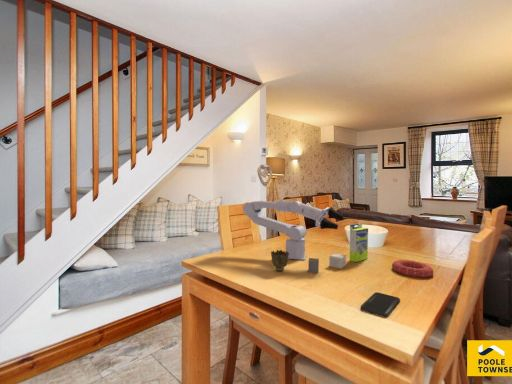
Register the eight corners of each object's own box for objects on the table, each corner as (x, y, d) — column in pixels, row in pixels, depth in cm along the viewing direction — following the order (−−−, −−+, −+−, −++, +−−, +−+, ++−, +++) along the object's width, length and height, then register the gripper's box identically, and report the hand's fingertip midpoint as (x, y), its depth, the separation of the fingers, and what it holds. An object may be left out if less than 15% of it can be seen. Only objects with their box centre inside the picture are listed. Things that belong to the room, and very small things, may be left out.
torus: (384, 268, 123) (384, 260, 123) (410, 265, 127) (410, 257, 127) (413, 280, 108) (413, 271, 108) (442, 277, 112) (442, 268, 111)
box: (356, 262, 130) (356, 225, 129) (348, 260, 133) (348, 224, 133) (368, 258, 137) (369, 223, 136) (360, 257, 140) (361, 222, 139)
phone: (400, 298, 89) (387, 315, 78) (400, 301, 89) (387, 319, 78) (375, 291, 94) (359, 306, 83) (375, 294, 95) (358, 310, 83)
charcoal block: (308, 272, 117) (308, 260, 116) (309, 269, 121) (309, 258, 120) (318, 273, 116) (318, 261, 115) (318, 270, 119) (318, 258, 119)
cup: (276, 274, 114) (276, 255, 113) (267, 269, 120) (267, 251, 120) (291, 271, 117) (292, 252, 117) (282, 266, 124) (282, 249, 123)
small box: (334, 263, 129) (334, 253, 129) (346, 266, 125) (346, 255, 125) (328, 266, 125) (329, 255, 125) (341, 269, 121) (341, 258, 121)
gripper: (307, 213, 127) (336, 224, 121) (319, 198, 137) (346, 207, 131) (305, 225, 131) (333, 236, 124) (317, 210, 141) (344, 219, 135)
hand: (340, 222), depth 128 cm, fingers open, 7 cm apart
